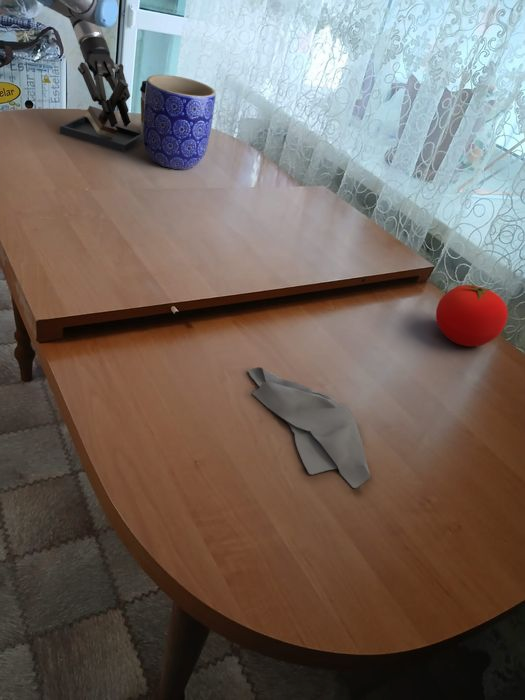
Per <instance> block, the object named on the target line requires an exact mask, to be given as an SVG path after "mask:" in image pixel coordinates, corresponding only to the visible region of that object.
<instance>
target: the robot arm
mask: <svg viewBox="0 0 525 700" xmlns="http://www.w3.org/2000/svg"><path fill="white" fill-rule="evenodd" d="M36 2H38V3H39V4H41V5H42V6H43V7H46V8H48V9H50V10H52V11H54V12H55V13H58V14H60V15H62V16H63V17H66V18H67V19H68V20H69V21H70V24H71V27H72V30H73V32H74V35H75V38H76V40H77V44H78V46H79V50H80V52H81V56H82V58H83V60H84V62H83V61H82V62H81V61H80V63H79V64H78V67H77V70H78V72H79V73H80V75H81V76H82V78H83V80H84V83H85V85H86V88H87V90H88V92H89V95H90V97H91V100H92V102H97V104H98V105H99V106H101V110H103V112H104V113H105V114H107V116H108V119H109V122H110V125H111V127H114V126H115V125H117V124H118V120H117V116H116V114H115V110H114V111H113V108H112V105H111V102H110V100H109V99H107V94H106V88H105V83H104V79H105V81H106V82H107V83H108V85H109V86H110V87H109V88H110V89H111V91H112V92H113V91H114V89H115V87H116V86H117V84H118V82H119V81H120V79H121V80H124V81H125V82H126V83H127V80H126V77H125V73H124V65H123V63H119V64H117V63H115V61H114V60H113V58H112V57H111V51H110V48H109V46H108V42H107V40H106V37H105V34H104V31H103V28H106V29H110V28H112V27H113V26H114V25H115V24H116V22H117V19H118V16H119V5H118V2H117V0H36ZM130 97H131V93H130V91H129V86H128V87H127V89H126V91H125V92H124V94H123V96H122V98H121V99H120V101H119V103H118V104H117V106H116V107H117V109H118V112H119V115H120V118H121V121H122V124H123V127H127V126H129V124H130V123H131V119H130V116H129V111H130V110H129V107H128V104H127V101H128V100H129V98H130Z"/></svg>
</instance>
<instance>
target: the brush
mask: <svg viewBox="0 0 525 700" xmlns="http://www.w3.org/2000/svg"><path fill="white" fill-rule="evenodd" d="M117 82H118V81H117ZM127 87H128V88H129V84H128V82H127V81H126V82H125V81H124V80H121V79H120V81H119V82H118V84H117V86H116V87H115V89H114V91H112V92H111V95H110V96H109V98H108V100H110V102H111V105H112V108H113V111H114V112H115V110H116V107H117V104H118V103H119V101H120V99H121V98H122V96H123V94H124V92H125V91H126V89H127ZM85 116H86V117H88V119H89V120H90V122H91V124H92V125H93V127H94V129H95V130H96V132H97V133H98V134H101V135H104V136H108V137H111V138H112V136H113V135H114V134H115V133H116V132H117V129H116V127H115V126H114V127H111V125H110V122H109V119H108V116H107V114H105V113H104V112H103V109H102V108H98V107H96V106H92V105H89V106H88V108H87V112H86V114H85Z"/></svg>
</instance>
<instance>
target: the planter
mask: <svg viewBox="0 0 525 700" xmlns="http://www.w3.org/2000/svg"><path fill="white" fill-rule="evenodd" d="M145 81H146V90H145V102H144V120H143V139H144V141H143V145H144V148H145V151H146V152H147V155H148V156H149V158H150V159H151V160H152V161H153V162H154V163H156V164H158V165H159V166H162V167H163V168H167V169H172V170H190V169H192V168H194V167H196V166H197V165H198V164H199V163H200V162H201V161H202V160H203V158H204V157H205V155H206V152H207V149H208V146H209V141H210V136H211V131H212V124H213V119H214V112H215V106H216V105H215V104H216V98H217V97H216V96H217V93H216V91H215V89H214V88H213V87H211V86H209V85H207V84H205V83H204V82H201V81H198V80H194V79H192V78H187V77H184V76H183V77H182V76H176V75H171V74H155V75H150V76H148V77H147V78H146V80H145Z"/></svg>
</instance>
